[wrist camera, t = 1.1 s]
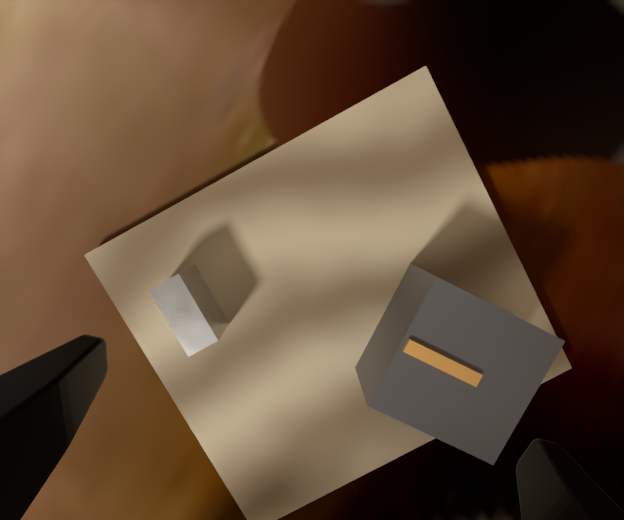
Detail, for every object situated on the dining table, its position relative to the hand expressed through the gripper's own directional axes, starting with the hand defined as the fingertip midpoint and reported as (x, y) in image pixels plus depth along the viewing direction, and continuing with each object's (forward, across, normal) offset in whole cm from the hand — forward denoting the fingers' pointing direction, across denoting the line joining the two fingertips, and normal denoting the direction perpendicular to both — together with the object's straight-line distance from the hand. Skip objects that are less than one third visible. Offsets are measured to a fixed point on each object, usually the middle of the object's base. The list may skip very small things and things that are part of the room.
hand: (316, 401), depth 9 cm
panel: (+13, -1, +7) cm, 15 cm away
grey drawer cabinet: (+12, -7, +7) cm, 16 cm away
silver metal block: (+12, +6, +7) cm, 15 cm away
